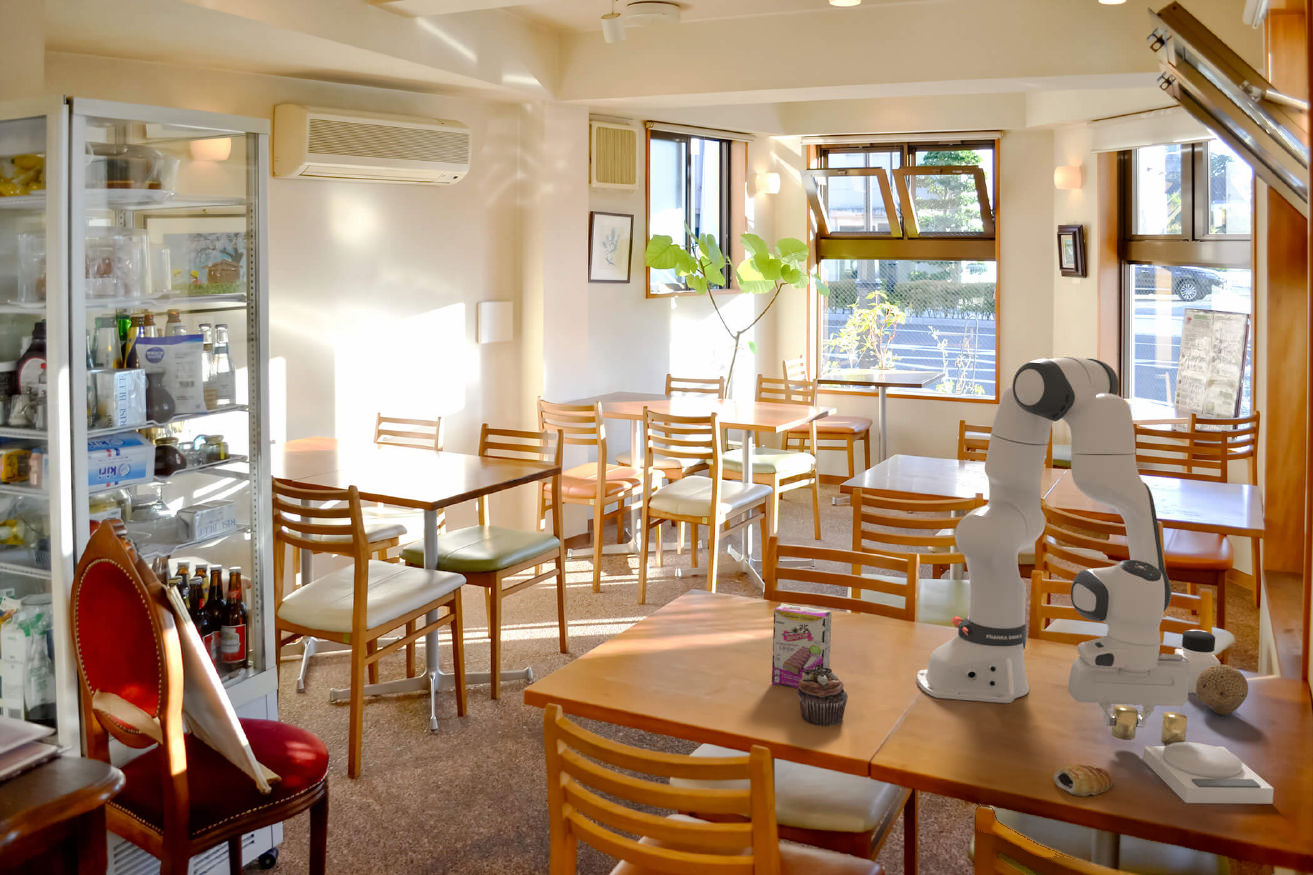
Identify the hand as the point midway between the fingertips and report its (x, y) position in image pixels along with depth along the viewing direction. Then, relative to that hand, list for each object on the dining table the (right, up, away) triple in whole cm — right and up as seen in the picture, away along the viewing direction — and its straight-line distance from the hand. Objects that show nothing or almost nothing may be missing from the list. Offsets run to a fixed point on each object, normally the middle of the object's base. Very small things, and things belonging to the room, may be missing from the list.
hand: (1124, 725), depth 199 cm
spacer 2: (+10, -4, +3) cm, 12 cm away
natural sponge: (+25, -2, +16) cm, 30 cm away
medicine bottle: (+27, 0, +30) cm, 41 cm away
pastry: (-13, -7, -15) cm, 21 cm away
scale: (+8, -6, -12) cm, 16 cm away
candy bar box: (-55, 0, +30) cm, 62 cm away
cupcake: (-53, -2, +13) cm, 54 cm away
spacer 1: (0, -2, 0) cm, 2 cm away
